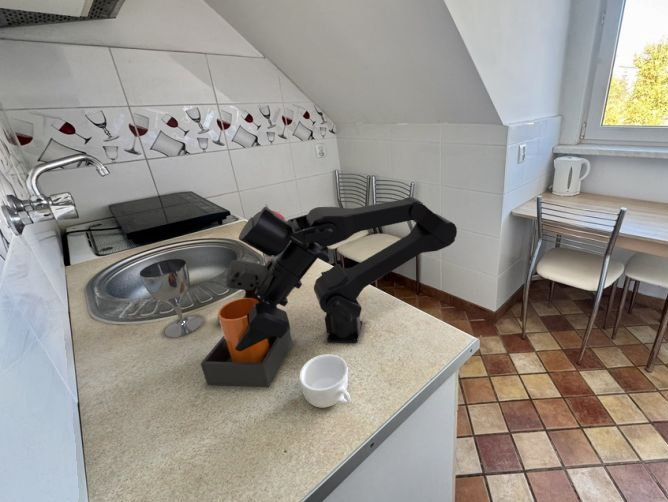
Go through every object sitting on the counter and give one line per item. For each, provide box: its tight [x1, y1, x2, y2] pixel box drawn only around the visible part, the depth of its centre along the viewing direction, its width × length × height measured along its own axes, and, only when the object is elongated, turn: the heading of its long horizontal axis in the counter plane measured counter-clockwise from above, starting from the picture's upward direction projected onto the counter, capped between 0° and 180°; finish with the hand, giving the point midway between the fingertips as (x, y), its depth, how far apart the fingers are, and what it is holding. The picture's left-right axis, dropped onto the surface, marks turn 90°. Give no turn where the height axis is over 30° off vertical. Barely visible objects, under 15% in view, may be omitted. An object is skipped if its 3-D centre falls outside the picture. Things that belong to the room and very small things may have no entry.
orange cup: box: [217, 297, 270, 363], centre depth 59 cm, size 7×7×12 cm
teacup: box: [299, 353, 352, 408], centre depth 53 cm, size 10×8×5 cm
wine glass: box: [139, 258, 203, 338], centre depth 69 cm, size 8×8×15 cm
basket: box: [200, 329, 293, 388], centre depth 61 cm, size 11×11×5 cm
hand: (236, 334), depth 59 cm, fingers open, 8 cm apart
